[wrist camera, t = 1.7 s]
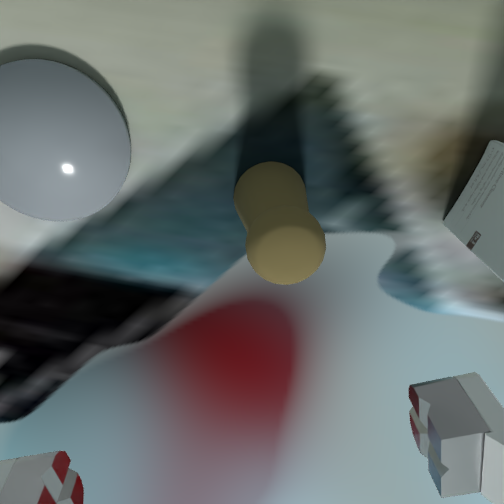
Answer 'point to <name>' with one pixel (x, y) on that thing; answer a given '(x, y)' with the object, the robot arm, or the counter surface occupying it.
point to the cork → (278, 223)
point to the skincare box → (483, 210)
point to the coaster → (59, 141)
